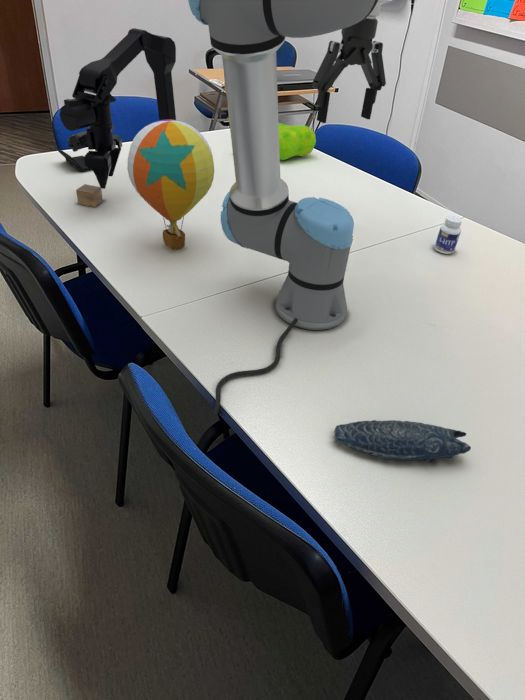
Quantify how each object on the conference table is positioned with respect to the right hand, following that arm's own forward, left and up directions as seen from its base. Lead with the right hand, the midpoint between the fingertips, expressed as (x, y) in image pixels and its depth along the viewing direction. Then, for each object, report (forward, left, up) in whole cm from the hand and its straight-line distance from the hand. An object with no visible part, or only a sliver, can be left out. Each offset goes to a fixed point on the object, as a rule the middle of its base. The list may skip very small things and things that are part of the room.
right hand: (343, 119), depth 126 cm
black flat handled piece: (+23, +82, -29) cm, 90 cm away
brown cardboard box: (-2, +67, -29) cm, 73 cm away
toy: (-21, +37, -29) cm, 52 cm away
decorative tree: (+57, +22, -29) cm, 68 cm away
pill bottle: (-2, -32, -29) cm, 44 cm away
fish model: (-76, -16, -29) cm, 83 cm away
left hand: (-2, +61, -23) cm, 66 cm away
